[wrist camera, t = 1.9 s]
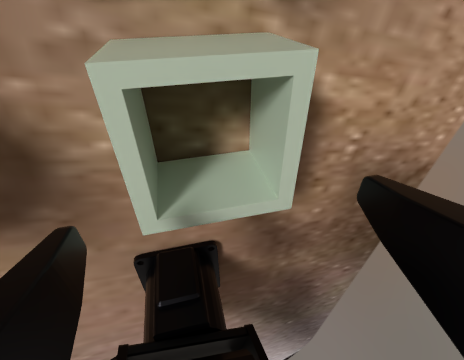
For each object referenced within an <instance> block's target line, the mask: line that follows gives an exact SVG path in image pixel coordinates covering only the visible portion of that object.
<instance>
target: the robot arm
mask: <svg viewBox="0 0 464 360" xmlns="http://www.w3.org/2000/svg"><path fill="white" fill-rule="evenodd" d="M357 201H358V203H359V205H360V207H361V208H362V210H363V212H364V214H365V215H366V217H367V219H368V220H369V222H370V224H371V226H372V227H373V229H374V231H375V233H376V234H377V236H378V238H379V239H380V241H381V242H382V244H383V245H384V247H385V248H386V249H387V251H388V252H389V253H390V255H391V256H392V258H393V259H394V261H395V262H396V264H397V265H398V266H399V268H400V269H401V271H402V272H403V273H404V275H405V276H406V277H407V279H408V280H409V282H410V283H411V285H412V286H413V287H414V289H415V290H416V292H417V293H418V294H419V296H420V297H421V298H422V300H423V301H424V303H425V304H426V306H427V307H428V308H429V310H430V311H431V313H432V314H433V315H434V317H435V318H436V320H437V321H438V323H439V324H440V325H441V327H442V328H443V330H444V331H445V332H446V334H447V335H448V337H449V338H450V339H451V341H452V342H453V344H454V345H455V346H456V348H457V349H458V350H459V352H460V353H461V355H462V356H463V358H464V206H463V205H460V204H457V203H454V202H451V201H449V200H446V199H443V198H441V197H438V196H435V195H432V194H429V193H427V192H424V191H421V190H418V189H416V188H413V187H410V186H407V185H404V184H402V183H399V182H396V181H393V180H391V179H388V178H385V177H382V176H379V175H372V176H366V177H365V178H364V179H363V180H362V183H361V186H360V188H359V191H358V194H357ZM86 256H87V249H86V245H85V243H84V241H83V239H82V238H81V236H80V234H79V232H78V230H77V229H76V228H75V227H74V226H67V227H61V228H57V229H55V230H54V231H53V232H52V233H51V234H49V235H48V236H47V237H46V238H45V239H44V240H43V241H42V242H40V243H39V244H38V245H37V246H36V247H35V248H34V249H33V250H32V251H30V252H29V253H28V254H27V255H26V256H25V257H24V258H23V259H21V260H20V261H19V262H18V263H17V264H16V265H15V266H14V267H13V268H11V269H10V270H9V271H8V272H7V273H6V274H5V275H4V276H2V277H1V278H0V360H70V358H71V354H72V349H73V345H74V340H75V335H76V331H77V326H78V321H79V317H80V312H81V306H82V298H83V288H84V277H85V267H86ZM134 266H135V269H136V271H137V274H138V276H139V278H140V281H141V283H142V286H143V288H144V290H145V293H146V296H145V320H144V343H141V344H135V345H129V344H124V345H119V348H118V354H117V356H116V357H114V358H112V359H111V360H268V358H267V355H266V353H265V351H264V349H263V346H262V344H261V342H260V340H259V338H258V335H257V333H256V331H255V329H254V327H253V325H252V324H248V325H244V327H239V328H233V329H226V324H225V319H224V314H223V309H222V304H221V299H220V294H219V289H218V288H219V287H220V277H219V264H218V251H217V245H216V242H214V241H208V242H203V243H198V244H193V245H188V246H183V247H177V248H172V249H167V250H162V251H157V252H152V253H147V254H142V255H138V256H136V257H135V258H134Z"/></svg>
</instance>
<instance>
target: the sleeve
mask: <svg viewBox="0 0 464 360" xmlns="http://www.w3.org/2000/svg"><path fill="white" fill-rule="evenodd" d="M318 51H319V49H318V48H315V47H312V46H309V45H306V44H302V43H299V42H296V41H293V40H290V39H287V38H284V37H281V36H278V35H275V34H272V33H269V32H262V33H241V34H219V35H198V36H176V37H155V38H133V39H112V40H110V41H109V42H107V43H106V44H105V45H104V46H103V47H102V48H101V49H100V50H99V51H98V52H96V53H95V54H94V55H93V56H92V57H91V58H90V59H89V60H88V61H86V62H85V66H86V69H87V72H88V75H89V78H90V81H91V84H92V87H93V90H94V93H95V96H96V98H97V101H98V104H99V107H100V110H101V113H102V116H103V119H104V122H105V125H106V128H107V131H108V134H109V137H110V140H111V143H112V146H113V149H114V151H115V154H116V157H117V160H118V163H119V166H120V169H121V172H122V175H123V178H124V181H125V184H126V187H127V190H128V193H129V196H130V199H131V201H132V204H133V207H134V210H135V213H136V216H137V219H138V222H139V225H140V228H141V231H142V234H143V235H148V234H154V233H159V232H165V231H170V230H176V229H181V228H187V227H192V226H198V225H203V224H209V223H214V222H220V221H225V220H231V219H236V218H242V217H247V216H253V215H258V214H264V213H269V212H275V211H280V210H286V209H291V207H292V201H293V195H294V190H295V184H296V178H297V172H298V166H299V161H300V155H301V149H302V143H303V138H304V132H305V126H306V120H307V115H308V109H309V103H310V97H311V92H312V86H313V80H314V74H315V69H316V63H317V57H318ZM243 79H251V109H250V141H249V150H247V151H240V152H232V153H225V154H217V155H210V156H202V157H194V158H187V159H179V160H172V161H164V162H157V157H156V153H155V148H154V144H153V140H152V135H151V131H150V126H149V122H148V118H147V113H146V109H145V105H144V100H143V96H142V91H141V88H144V87H156V86H169V85H181V84H193V83H206V82H218V81H231V80H243Z"/></svg>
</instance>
